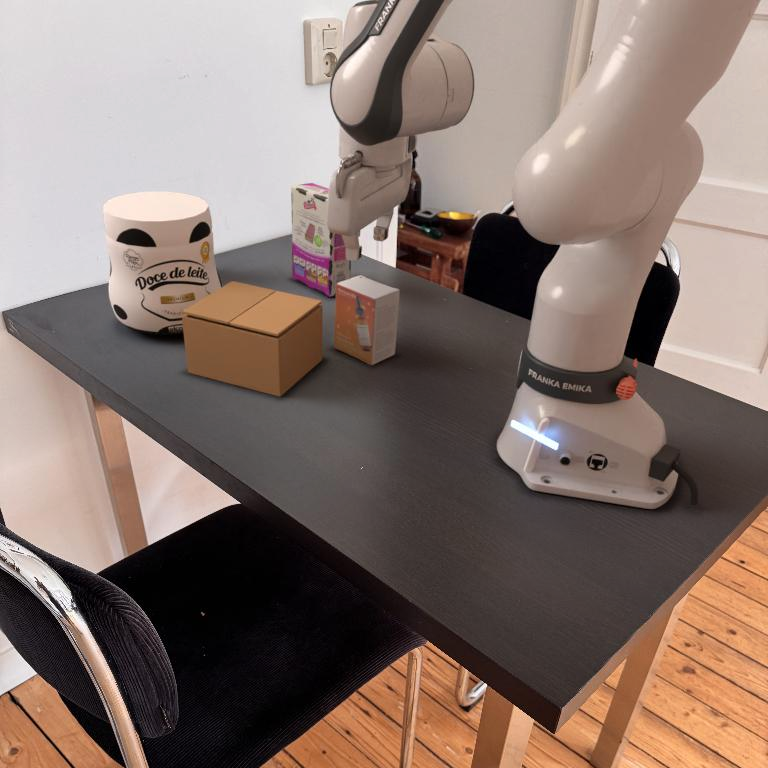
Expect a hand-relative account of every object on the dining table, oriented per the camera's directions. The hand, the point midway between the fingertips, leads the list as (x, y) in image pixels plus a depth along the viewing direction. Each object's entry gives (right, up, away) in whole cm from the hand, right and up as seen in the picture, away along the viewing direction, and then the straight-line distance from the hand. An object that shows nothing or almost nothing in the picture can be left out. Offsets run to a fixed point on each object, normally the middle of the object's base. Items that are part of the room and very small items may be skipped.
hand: (367, 249), depth 111 cm
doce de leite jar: (-32, -7, +15) cm, 36 cm away
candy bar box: (-9, +3, +30) cm, 32 cm away
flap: (-12, -10, -3) cm, 16 cm away
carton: (-16, -16, +4) cm, 23 cm away
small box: (-1, -13, +9) cm, 16 cm away
